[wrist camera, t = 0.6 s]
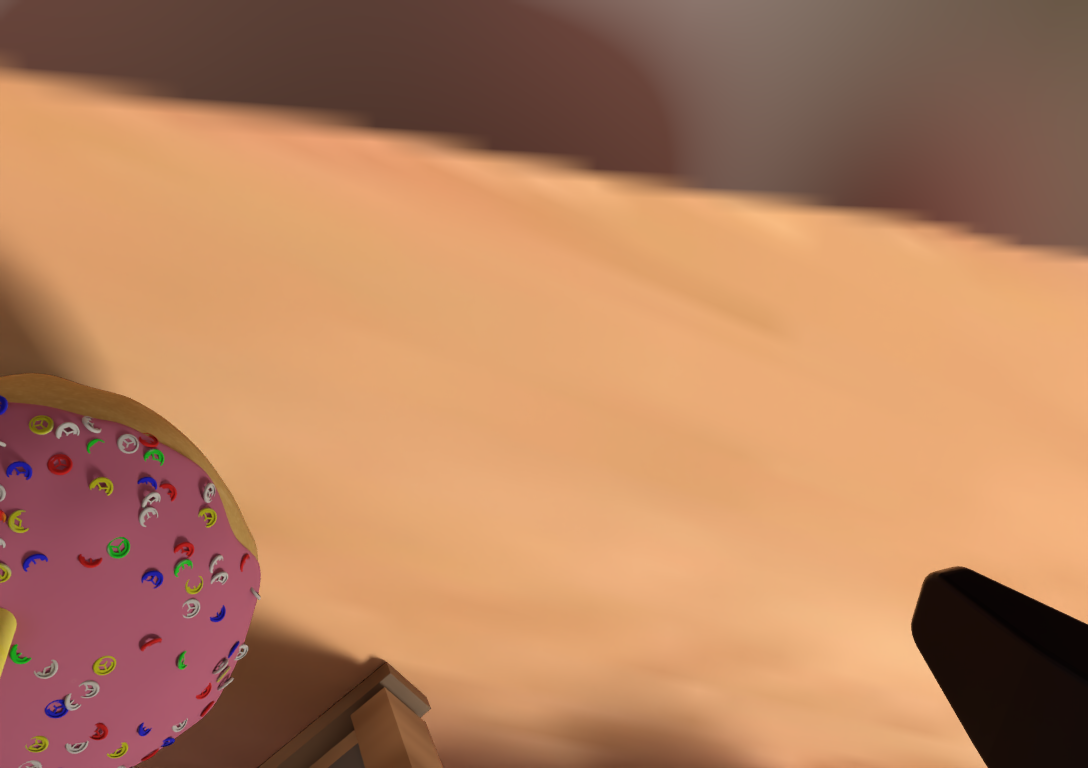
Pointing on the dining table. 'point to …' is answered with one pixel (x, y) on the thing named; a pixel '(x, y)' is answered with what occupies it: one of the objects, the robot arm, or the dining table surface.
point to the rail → (345, 719)
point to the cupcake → (111, 578)
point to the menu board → (384, 738)
